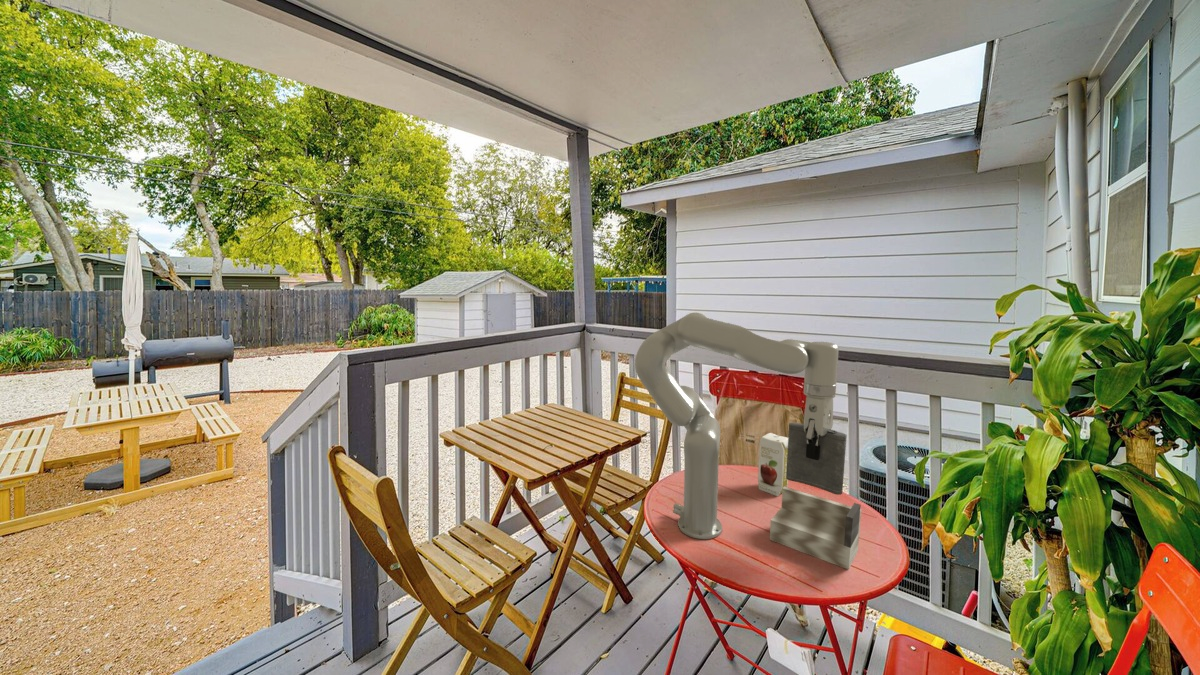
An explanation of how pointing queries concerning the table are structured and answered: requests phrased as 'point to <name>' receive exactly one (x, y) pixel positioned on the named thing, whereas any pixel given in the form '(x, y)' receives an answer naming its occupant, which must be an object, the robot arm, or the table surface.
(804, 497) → the stone display stand
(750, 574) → the table surface
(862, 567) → the table surface
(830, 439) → the flask
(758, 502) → the table surface
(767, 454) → the juice carton
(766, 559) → the table surface
